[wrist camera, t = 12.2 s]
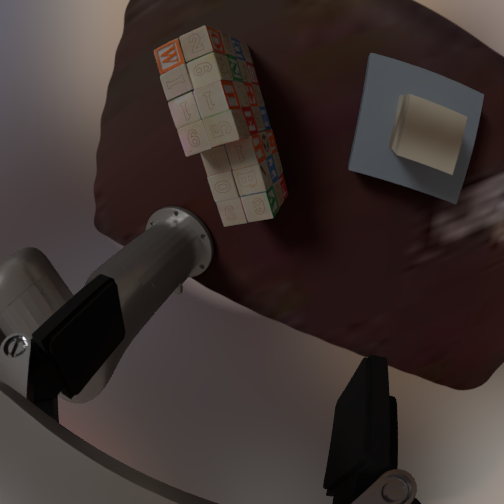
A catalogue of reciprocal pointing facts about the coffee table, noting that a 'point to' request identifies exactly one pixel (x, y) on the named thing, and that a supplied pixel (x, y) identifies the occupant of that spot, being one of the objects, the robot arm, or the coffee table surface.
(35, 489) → the robot arm
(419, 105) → the cream block
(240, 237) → the coffee table surface
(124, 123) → the coffee table surface
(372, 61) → the slate base plinth
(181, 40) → the stack of blocks
